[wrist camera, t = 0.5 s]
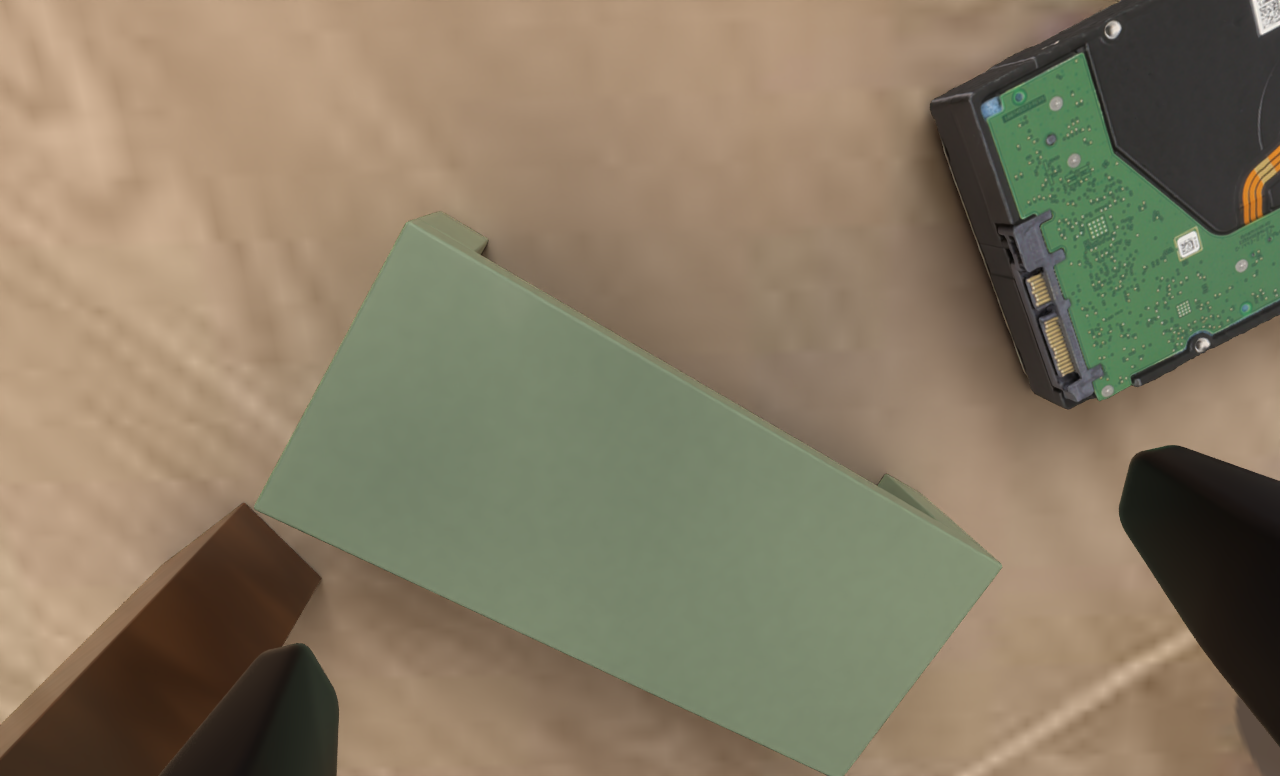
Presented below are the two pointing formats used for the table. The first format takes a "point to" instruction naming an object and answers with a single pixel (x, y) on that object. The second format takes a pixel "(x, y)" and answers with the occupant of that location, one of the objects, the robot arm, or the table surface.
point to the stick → (162, 657)
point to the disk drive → (1126, 189)
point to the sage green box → (619, 507)
